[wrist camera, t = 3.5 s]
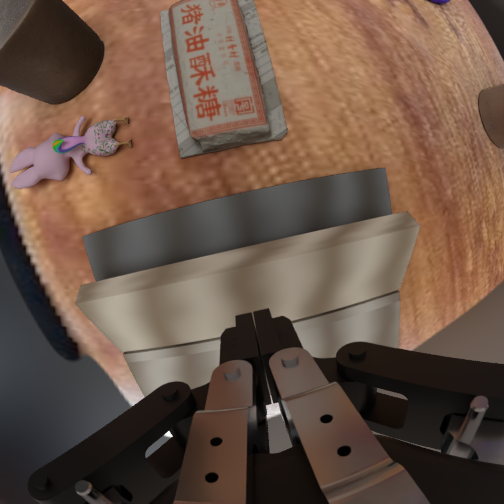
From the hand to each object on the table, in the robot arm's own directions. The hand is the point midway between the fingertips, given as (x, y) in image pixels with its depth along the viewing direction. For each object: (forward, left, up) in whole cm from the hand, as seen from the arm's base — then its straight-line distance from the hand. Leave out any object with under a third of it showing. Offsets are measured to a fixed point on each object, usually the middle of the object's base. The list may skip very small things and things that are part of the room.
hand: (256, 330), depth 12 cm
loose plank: (0, +2, -11) cm, 11 cm away
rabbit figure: (+15, -14, -15) cm, 26 cm away
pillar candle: (+15, -26, -15) cm, 33 cm away
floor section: (0, +4, -15) cm, 15 cm away
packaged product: (-2, -19, -15) cm, 24 cm away
